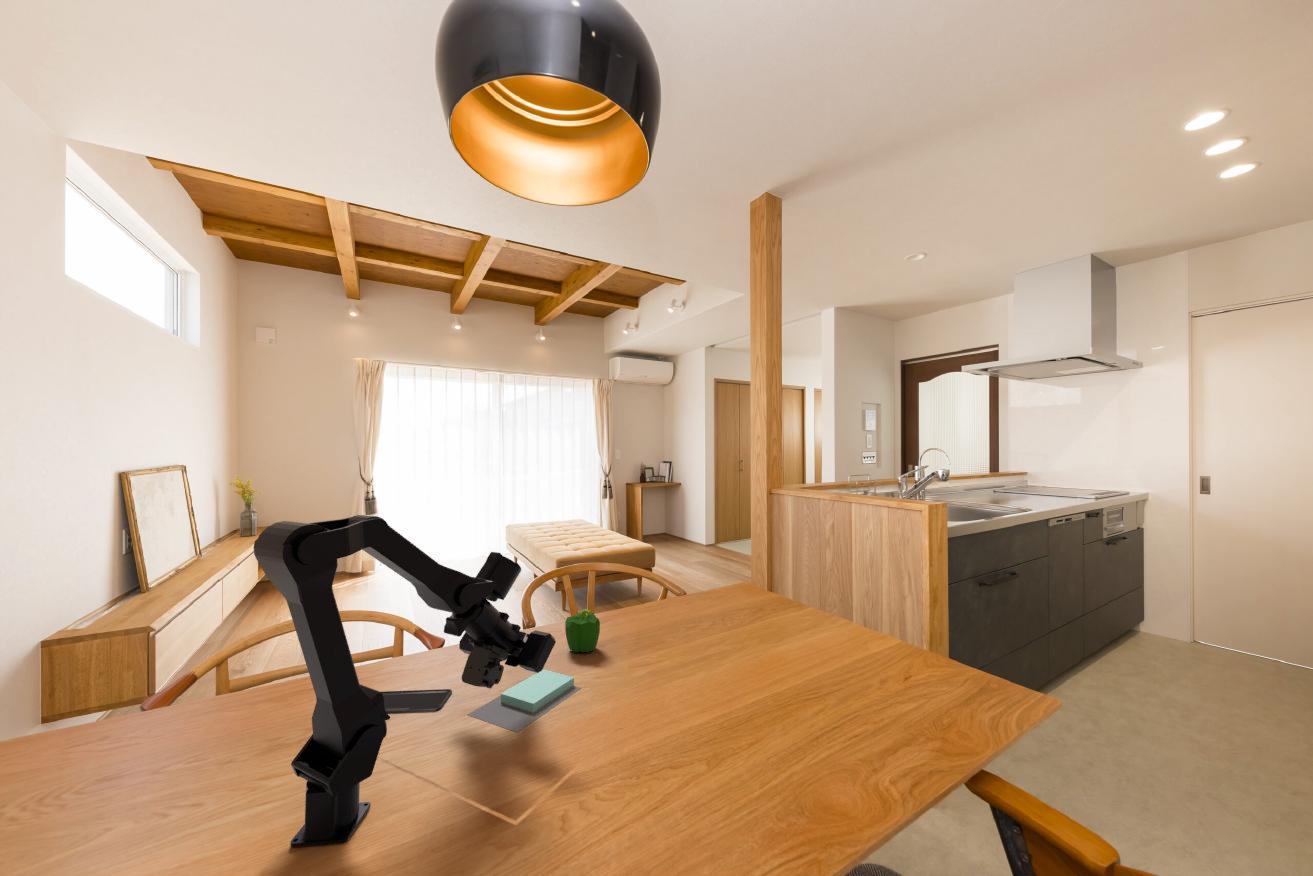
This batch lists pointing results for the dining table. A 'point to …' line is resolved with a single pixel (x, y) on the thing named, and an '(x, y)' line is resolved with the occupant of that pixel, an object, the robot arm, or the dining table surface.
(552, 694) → the teal board
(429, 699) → the phone
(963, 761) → the dining table surface
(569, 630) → the bell pepper
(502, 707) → the mat
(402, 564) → the robot arm
